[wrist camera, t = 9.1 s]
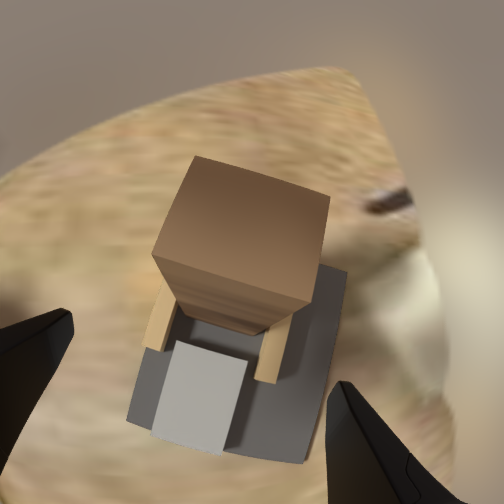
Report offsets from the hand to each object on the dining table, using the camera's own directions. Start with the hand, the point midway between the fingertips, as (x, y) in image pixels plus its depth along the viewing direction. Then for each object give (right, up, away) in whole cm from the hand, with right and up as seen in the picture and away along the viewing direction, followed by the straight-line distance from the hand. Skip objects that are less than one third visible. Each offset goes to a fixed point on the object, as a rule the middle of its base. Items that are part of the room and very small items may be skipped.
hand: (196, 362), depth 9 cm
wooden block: (0, 0, +11) cm, 11 cm away
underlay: (+1, -3, +10) cm, 11 cm away
